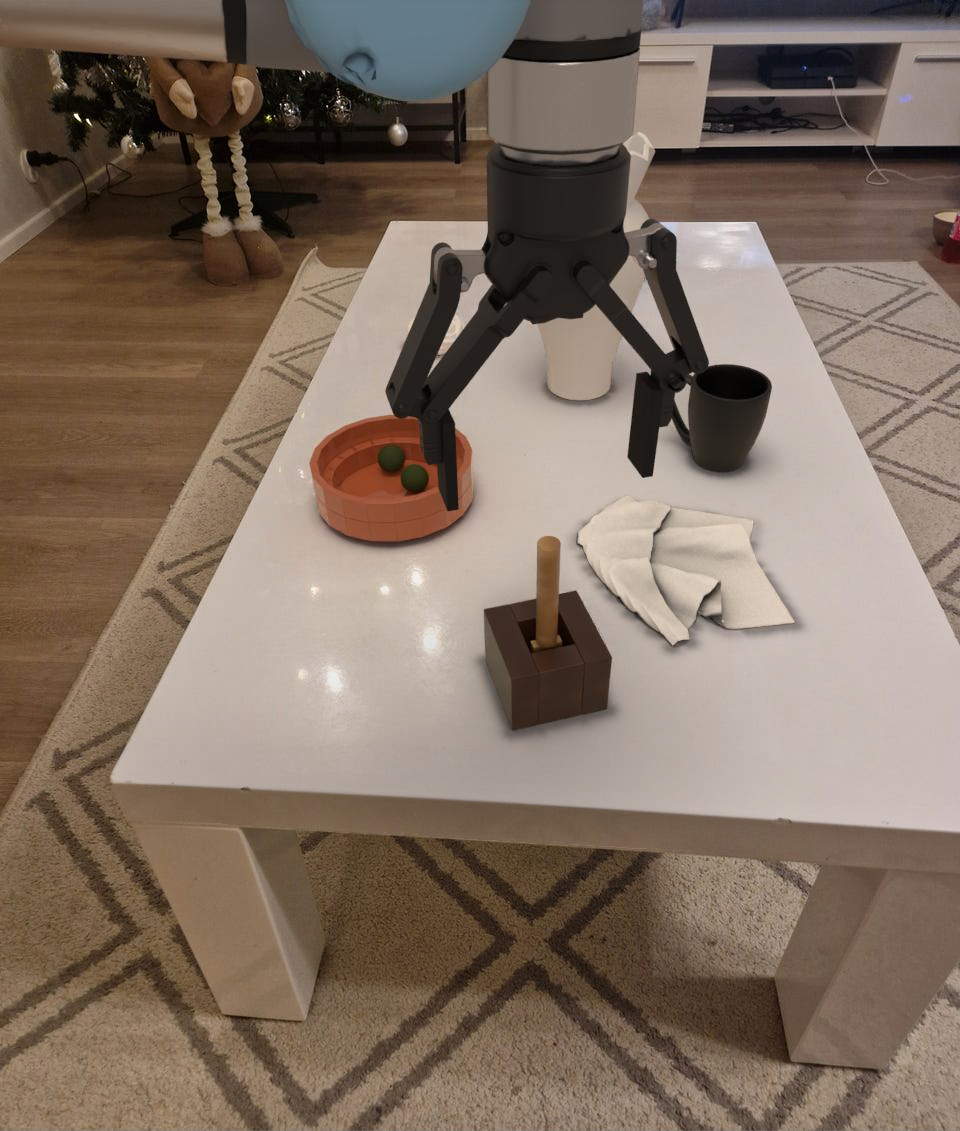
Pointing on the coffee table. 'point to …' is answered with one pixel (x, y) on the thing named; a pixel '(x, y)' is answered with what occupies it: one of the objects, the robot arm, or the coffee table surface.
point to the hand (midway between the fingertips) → (546, 483)
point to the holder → (546, 663)
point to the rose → (448, 333)
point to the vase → (592, 341)
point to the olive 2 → (414, 478)
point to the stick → (547, 595)
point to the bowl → (383, 482)
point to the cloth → (680, 567)
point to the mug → (724, 415)
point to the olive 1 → (391, 458)
